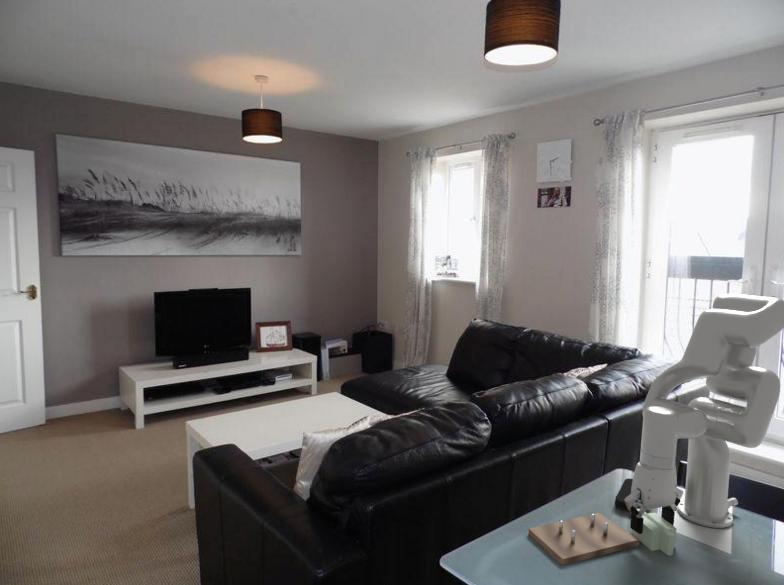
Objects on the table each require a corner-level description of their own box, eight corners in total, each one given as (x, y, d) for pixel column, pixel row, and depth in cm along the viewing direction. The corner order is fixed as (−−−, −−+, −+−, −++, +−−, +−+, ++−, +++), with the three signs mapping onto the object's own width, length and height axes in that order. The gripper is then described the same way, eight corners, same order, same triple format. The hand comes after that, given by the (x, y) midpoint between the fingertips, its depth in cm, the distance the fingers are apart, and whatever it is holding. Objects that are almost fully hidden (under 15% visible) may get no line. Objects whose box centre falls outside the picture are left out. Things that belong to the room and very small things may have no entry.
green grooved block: (625, 528, 132) (626, 510, 131) (648, 526, 133) (649, 507, 133) (658, 557, 120) (659, 536, 120) (682, 554, 121) (684, 534, 121)
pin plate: (599, 517, 137) (600, 501, 136) (638, 545, 125) (639, 527, 124) (528, 534, 129) (529, 516, 129) (562, 565, 117) (563, 546, 116)
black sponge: (647, 519, 137) (648, 506, 136) (613, 509, 141) (613, 497, 141) (656, 494, 150) (657, 482, 150) (624, 486, 155) (625, 474, 154)
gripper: (671, 449, 131) (665, 514, 132) (617, 457, 125) (611, 525, 126) (698, 461, 124) (691, 530, 125) (642, 470, 118) (636, 542, 119)
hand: (651, 527), depth 126 cm, fingers open, 9 cm apart
